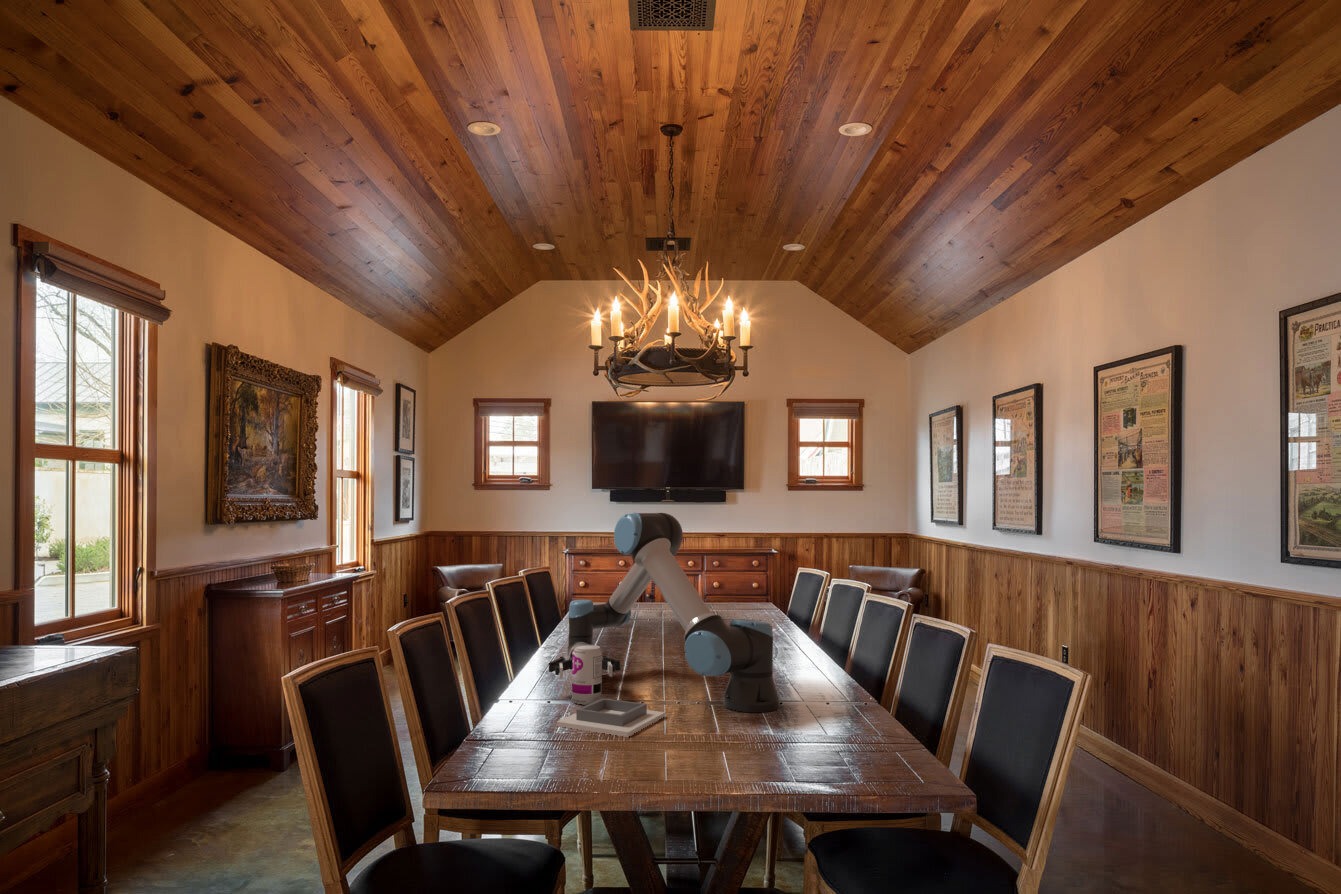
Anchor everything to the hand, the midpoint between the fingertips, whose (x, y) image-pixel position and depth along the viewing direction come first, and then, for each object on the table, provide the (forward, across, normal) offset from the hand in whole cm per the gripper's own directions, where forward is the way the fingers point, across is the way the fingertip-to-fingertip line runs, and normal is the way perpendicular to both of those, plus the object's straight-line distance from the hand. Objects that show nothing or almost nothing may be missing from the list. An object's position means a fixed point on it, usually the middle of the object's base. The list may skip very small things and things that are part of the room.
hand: (586, 672), depth 227 cm
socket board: (+19, -5, -8) cm, 22 cm away
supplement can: (-1, 0, -9) cm, 9 cm away
